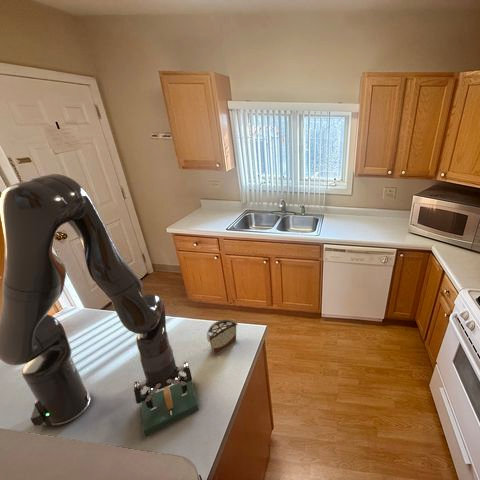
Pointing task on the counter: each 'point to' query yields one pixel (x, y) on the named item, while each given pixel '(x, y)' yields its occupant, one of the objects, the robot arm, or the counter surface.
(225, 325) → the cake slice
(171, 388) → the panel
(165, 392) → the handle
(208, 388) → the counter surface
